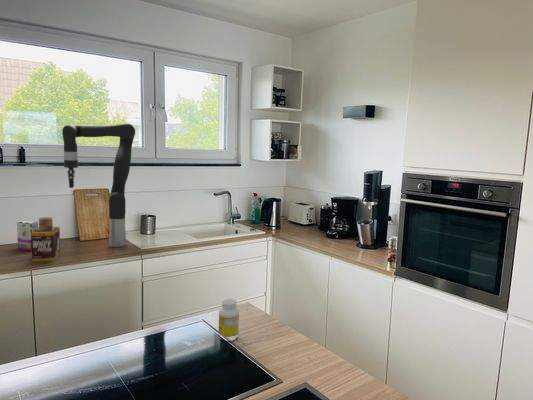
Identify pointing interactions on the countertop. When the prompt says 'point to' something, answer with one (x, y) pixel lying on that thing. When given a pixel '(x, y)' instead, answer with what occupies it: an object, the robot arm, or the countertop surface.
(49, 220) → the walnut block
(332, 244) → the countertop surface
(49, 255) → the supplement box
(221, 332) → the supplement bottle
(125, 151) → the robot arm
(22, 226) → the candy bar box
